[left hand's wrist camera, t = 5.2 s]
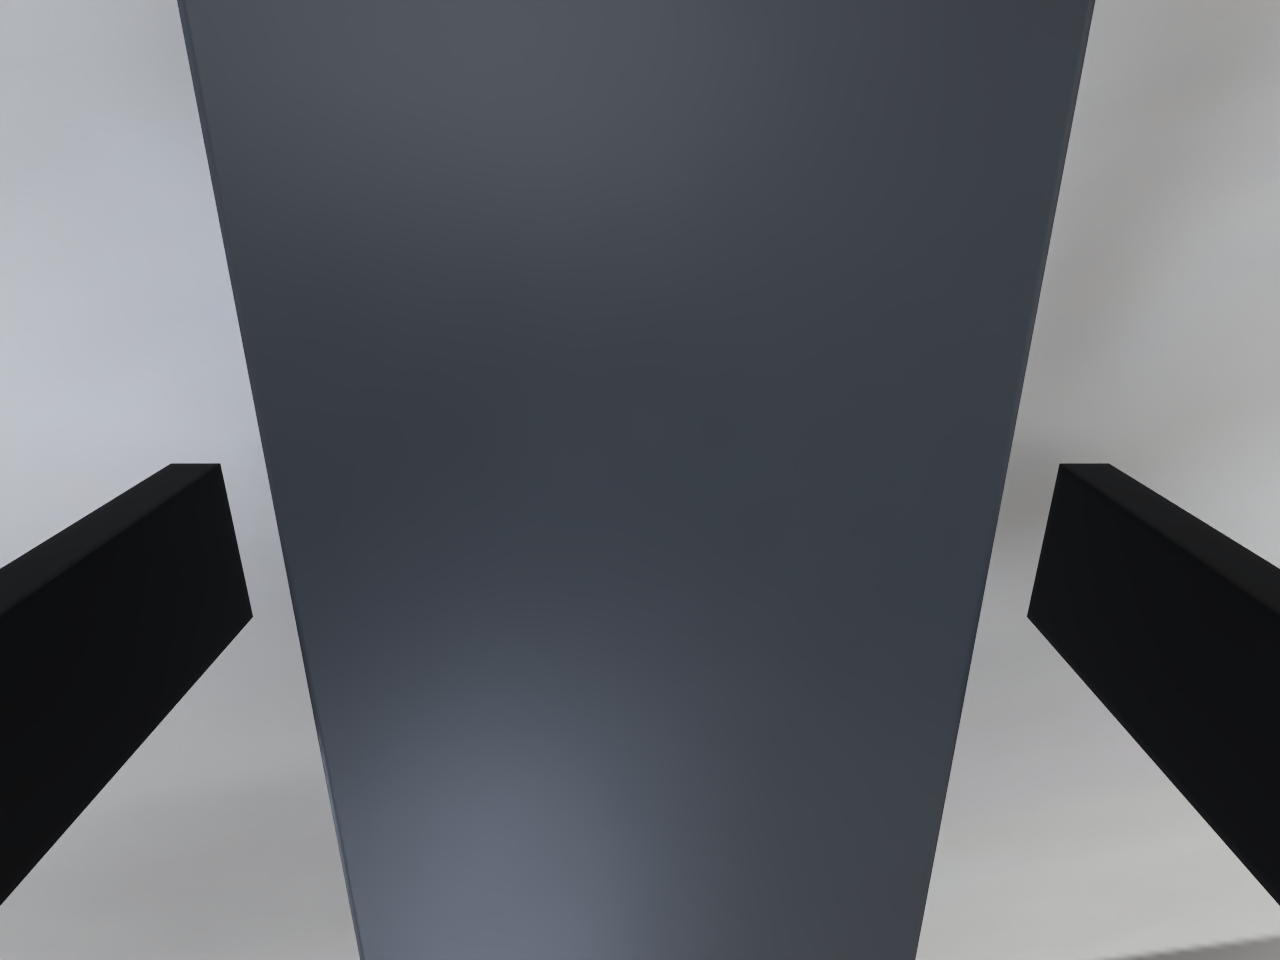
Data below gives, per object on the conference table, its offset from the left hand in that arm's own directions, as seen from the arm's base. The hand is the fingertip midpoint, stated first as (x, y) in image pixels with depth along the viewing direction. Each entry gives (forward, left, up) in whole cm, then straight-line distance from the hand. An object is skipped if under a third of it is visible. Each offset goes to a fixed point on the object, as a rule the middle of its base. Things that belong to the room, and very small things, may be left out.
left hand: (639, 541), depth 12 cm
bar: (+6, +4, -3) cm, 8 cm away
